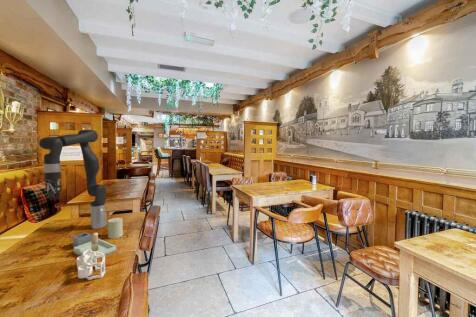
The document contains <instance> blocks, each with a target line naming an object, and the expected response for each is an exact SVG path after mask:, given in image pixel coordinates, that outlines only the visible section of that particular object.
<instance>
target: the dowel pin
mask: <svg viewBox="0 0 476 317" xmlns="http://www.w3.org/2000/svg"><path fill="white" fill-rule="evenodd" d="M90 234H91V249H92V251H97V250H98V239H99V233H98V232H93V233H90Z"/></svg>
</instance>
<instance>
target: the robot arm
mask: <svg viewBox="0 0 476 317" xmlns="http://www.w3.org/2000/svg"><path fill="white" fill-rule="evenodd" d="M98 140H99V134H98V132H97V131H96V130H94V129H80V130H79V131H78V132H77V133H72V134H62V135H59V136H46V137H42V138H41V139H39V142H38V144H39V147H40V148H42V149H43V150H50V152H49V153H45V154H44V156H43V179H44V180H45V181H44V184H45V191H46V192H47V198H49V199H50V198H53V197H54V200H60V199H61V192H62V191H63V189H62V182H61V181H59V180H60V179H62V167H61V158H60V157H61V154H62V150H63V148H64V147H69V146H73V145H78V144H79V146H80V150H81V154H82V158H83V159H82V161H83V165H84V170H85V177H86V190H87V194H88V195H89V196H90V197H94V200H92V201H91V202H90V227H91V229H93V230H97V229H102V228H104V227H106V226H108V220H107V212H106V204H105V203H106V199H107V186H105V184H98V183H97V175H98V173H99V170H100V161H99V158H98V156H97V155H96V154H95V153H94V152H93V151H92V148H91V147H90V144H89V143H94V142H97V141H98Z"/></svg>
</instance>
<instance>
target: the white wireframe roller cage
mask: <svg viewBox="0 0 476 317" xmlns="http://www.w3.org/2000/svg"><path fill="white" fill-rule="evenodd" d="M89 252H91V253H92V254H94V261H91V260H90V255H89ZM85 253H88V254H85ZM84 254H85V255H84ZM96 254H98V255H97V256H96ZM99 257H101V260H102V261H101V262H98V259H97V258H99ZM99 259H100V258H99ZM76 267H77V277H78V278H79V279H87V280H88V281H91V280H93V279H101V278H103V277H104V275H105V274H106V256H105V255H104V254H103V253H102V252H97V251H92V250H91V249H88V250H86V251H84V252H83V255H81V256H79V255H78V256H77V258H76ZM93 267H94V269H95V271H97V270H99V274H97V275H93V272H94V271H93Z"/></svg>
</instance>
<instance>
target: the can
mask: <svg viewBox="0 0 476 317" xmlns="http://www.w3.org/2000/svg"><path fill="white" fill-rule="evenodd" d="M123 222H124V220H123V218H122V217H112V218H109V219H108V220H107V232H108V233H107V238H108V239H111V240H112V239H119V238H121V237H122V236H124V231H123V227H124V225H123Z"/></svg>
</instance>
